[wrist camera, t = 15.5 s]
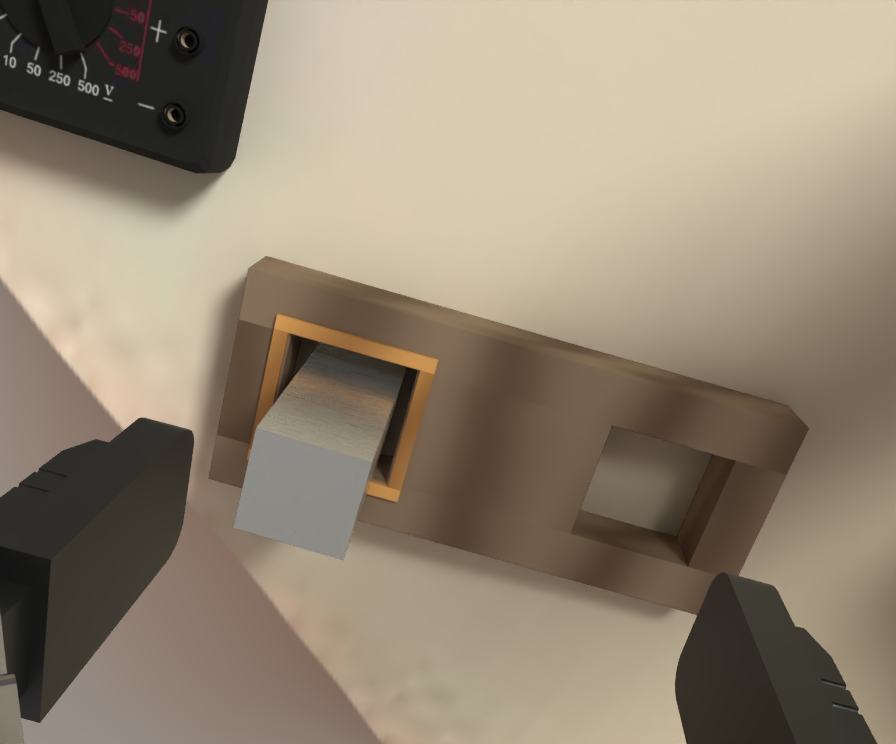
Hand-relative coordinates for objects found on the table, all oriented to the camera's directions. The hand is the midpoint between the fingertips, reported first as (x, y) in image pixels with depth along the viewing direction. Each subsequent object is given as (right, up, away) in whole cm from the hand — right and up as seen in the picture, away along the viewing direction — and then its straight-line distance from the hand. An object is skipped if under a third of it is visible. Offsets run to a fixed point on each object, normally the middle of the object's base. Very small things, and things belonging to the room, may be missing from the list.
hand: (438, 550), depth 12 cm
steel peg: (-4, +2, +24) cm, 25 cm away
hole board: (+2, 0, +25) cm, 25 cm away
